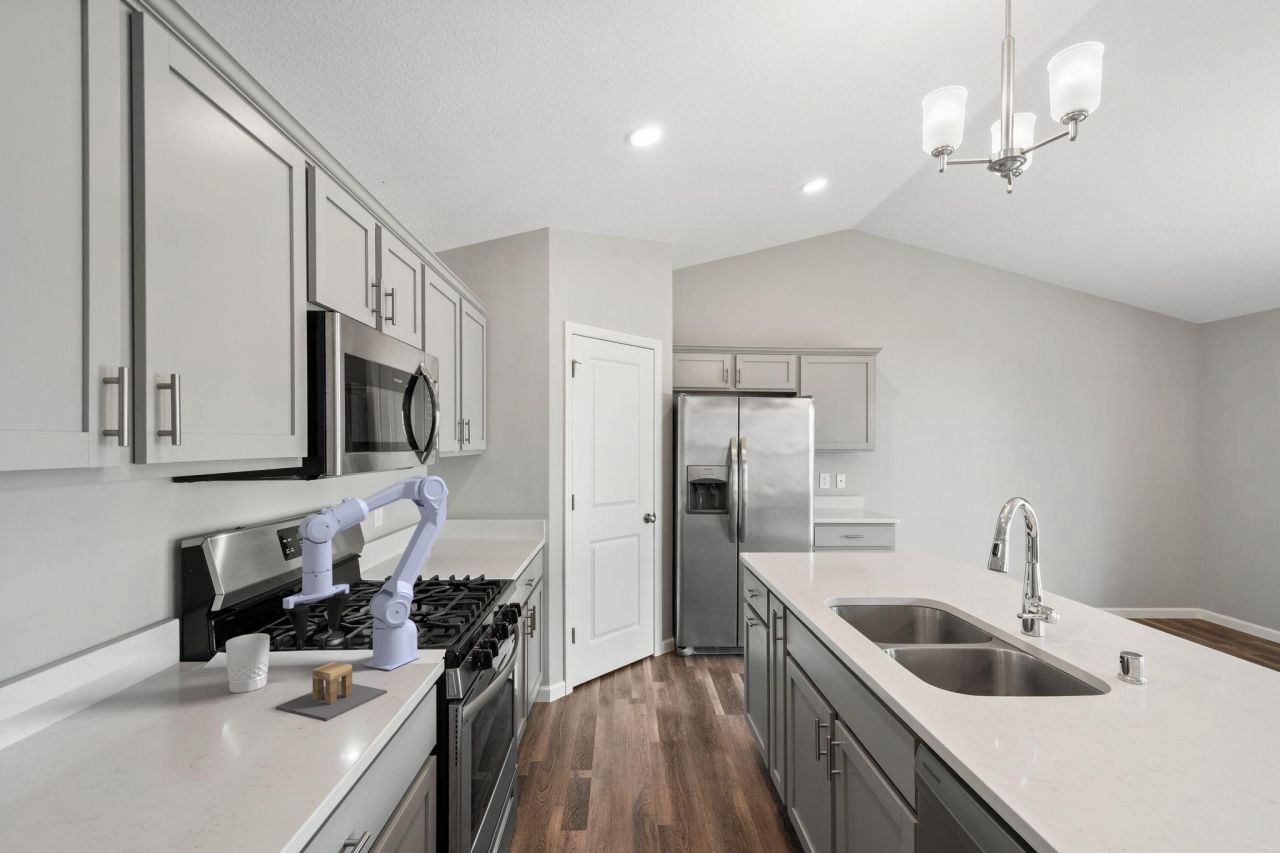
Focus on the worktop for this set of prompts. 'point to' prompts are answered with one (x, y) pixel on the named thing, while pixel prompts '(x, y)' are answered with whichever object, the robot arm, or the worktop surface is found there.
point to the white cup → (247, 662)
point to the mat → (327, 711)
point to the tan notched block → (332, 682)
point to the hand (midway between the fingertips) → (317, 634)
